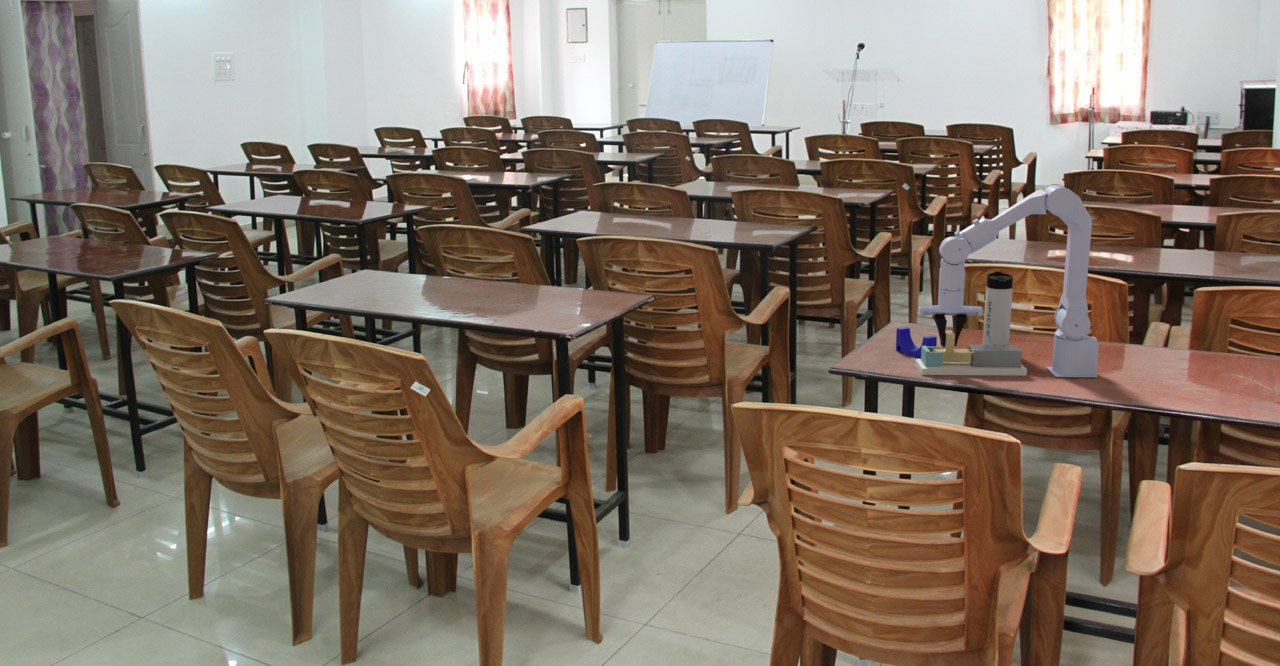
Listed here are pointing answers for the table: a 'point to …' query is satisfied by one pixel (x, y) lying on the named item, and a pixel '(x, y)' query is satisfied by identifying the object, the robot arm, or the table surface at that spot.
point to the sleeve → (996, 356)
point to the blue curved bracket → (907, 345)
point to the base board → (968, 369)
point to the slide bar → (954, 351)
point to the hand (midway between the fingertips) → (948, 345)
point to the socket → (931, 357)
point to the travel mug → (998, 309)
